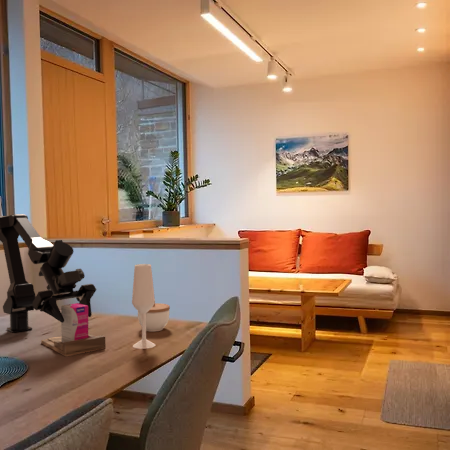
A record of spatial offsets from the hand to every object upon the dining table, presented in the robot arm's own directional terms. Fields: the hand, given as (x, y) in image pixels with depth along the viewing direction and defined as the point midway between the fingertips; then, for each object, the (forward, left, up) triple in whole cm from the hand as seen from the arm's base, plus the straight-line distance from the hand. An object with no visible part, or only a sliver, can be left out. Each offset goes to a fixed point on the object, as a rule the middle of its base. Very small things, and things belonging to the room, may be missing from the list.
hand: (77, 318), depth 152 cm
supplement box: (-1, 0, -8) cm, 8 cm away
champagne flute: (+11, +16, -9) cm, 21 cm away
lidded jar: (-4, +29, -9) cm, 30 cm away
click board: (-3, 0, -9) cm, 9 cm away
